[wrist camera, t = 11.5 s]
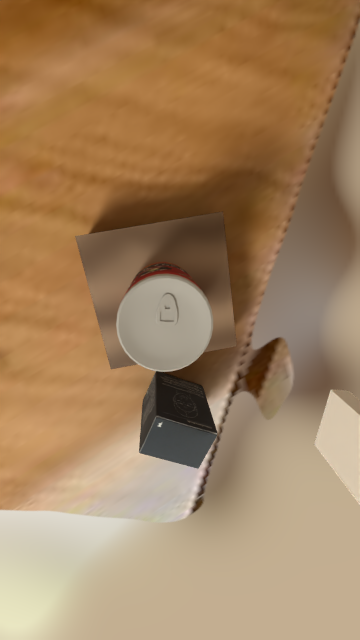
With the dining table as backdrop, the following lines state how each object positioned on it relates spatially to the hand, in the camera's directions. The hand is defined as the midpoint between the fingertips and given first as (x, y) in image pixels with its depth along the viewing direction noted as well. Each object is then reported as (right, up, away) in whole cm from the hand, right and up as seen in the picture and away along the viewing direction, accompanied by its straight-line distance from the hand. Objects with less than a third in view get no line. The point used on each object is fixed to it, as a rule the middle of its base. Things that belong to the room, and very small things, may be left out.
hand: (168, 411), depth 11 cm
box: (-1, -7, +31) cm, 32 cm away
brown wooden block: (-2, +8, +25) cm, 27 cm away
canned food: (-2, +6, +21) cm, 22 cm away
